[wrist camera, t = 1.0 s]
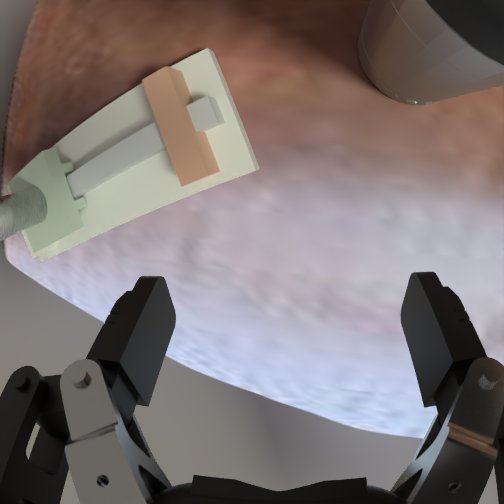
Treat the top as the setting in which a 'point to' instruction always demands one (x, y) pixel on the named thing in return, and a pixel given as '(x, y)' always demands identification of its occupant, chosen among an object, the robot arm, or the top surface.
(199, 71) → the rail
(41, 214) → the ball knob lever
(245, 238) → the top surface
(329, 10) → the top surface
